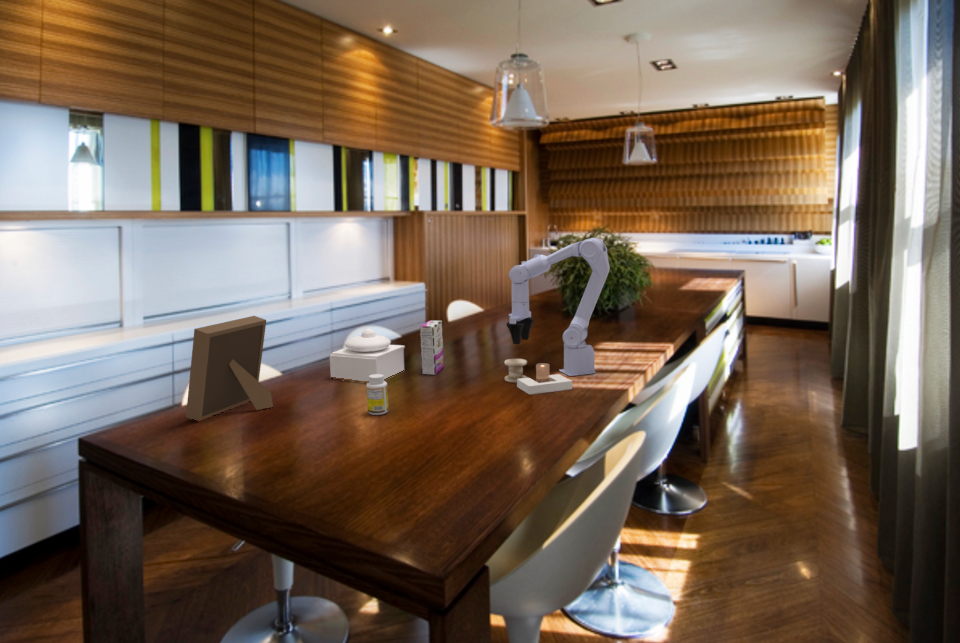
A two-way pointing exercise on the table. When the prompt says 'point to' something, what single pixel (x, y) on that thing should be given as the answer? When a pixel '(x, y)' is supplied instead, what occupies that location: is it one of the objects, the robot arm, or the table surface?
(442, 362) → the candy bar box
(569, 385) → the notched board
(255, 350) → the photo frame
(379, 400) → the supplement bottle
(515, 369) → the bobbin
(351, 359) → the butter dish
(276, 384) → the table surface
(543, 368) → the copper peg
